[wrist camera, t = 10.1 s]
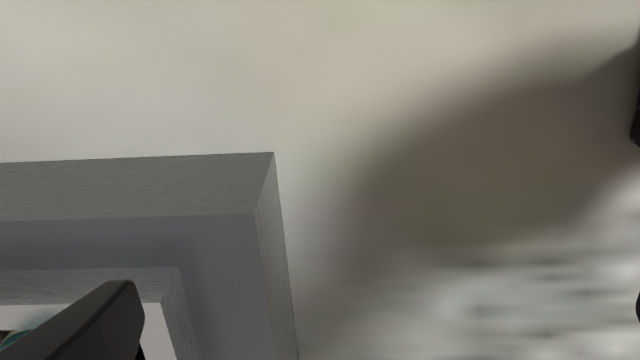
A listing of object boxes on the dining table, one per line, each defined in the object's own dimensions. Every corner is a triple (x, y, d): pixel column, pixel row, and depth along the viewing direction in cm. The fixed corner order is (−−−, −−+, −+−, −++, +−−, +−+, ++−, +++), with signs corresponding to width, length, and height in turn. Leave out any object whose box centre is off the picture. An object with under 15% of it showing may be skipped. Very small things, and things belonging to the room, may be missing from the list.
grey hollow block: (273, 152, 21) (243, 246, 15) (298, 362, 28) (285, 493, 21) (-89, 166, 22) (-267, 260, 16) (16, 365, 29) (-79, 489, 22)
